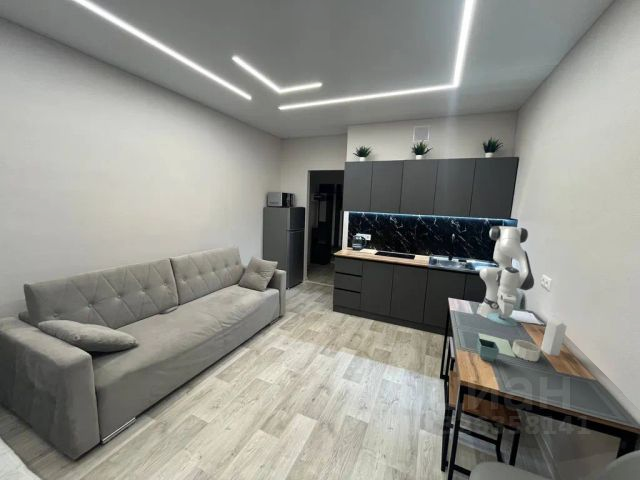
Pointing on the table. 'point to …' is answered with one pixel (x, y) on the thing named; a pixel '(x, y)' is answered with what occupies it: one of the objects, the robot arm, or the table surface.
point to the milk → (553, 336)
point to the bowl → (526, 350)
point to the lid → (501, 319)
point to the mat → (500, 344)
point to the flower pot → (487, 349)
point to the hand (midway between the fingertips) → (501, 316)
